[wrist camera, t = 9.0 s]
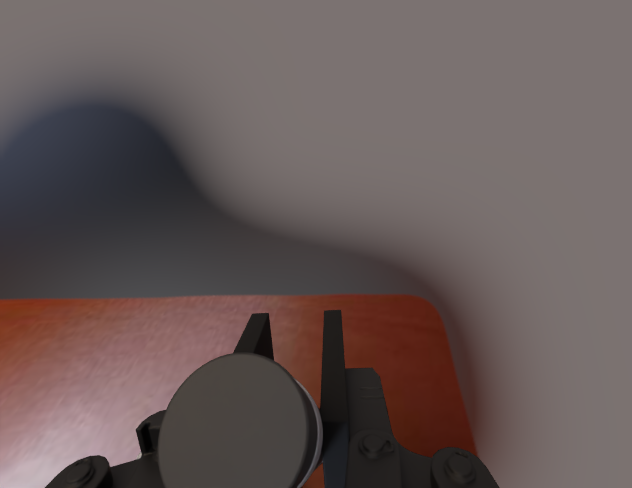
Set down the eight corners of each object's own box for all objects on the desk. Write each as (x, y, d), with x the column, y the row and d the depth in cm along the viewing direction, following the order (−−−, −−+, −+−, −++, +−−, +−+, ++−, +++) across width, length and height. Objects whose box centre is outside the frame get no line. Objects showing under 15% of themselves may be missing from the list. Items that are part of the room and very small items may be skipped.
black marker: (342, 422, 17) (338, 389, 6) (320, 481, 16) (260, 577, 5) (296, 398, 18) (212, 325, 7) (270, 451, 17) (119, 474, 6)
